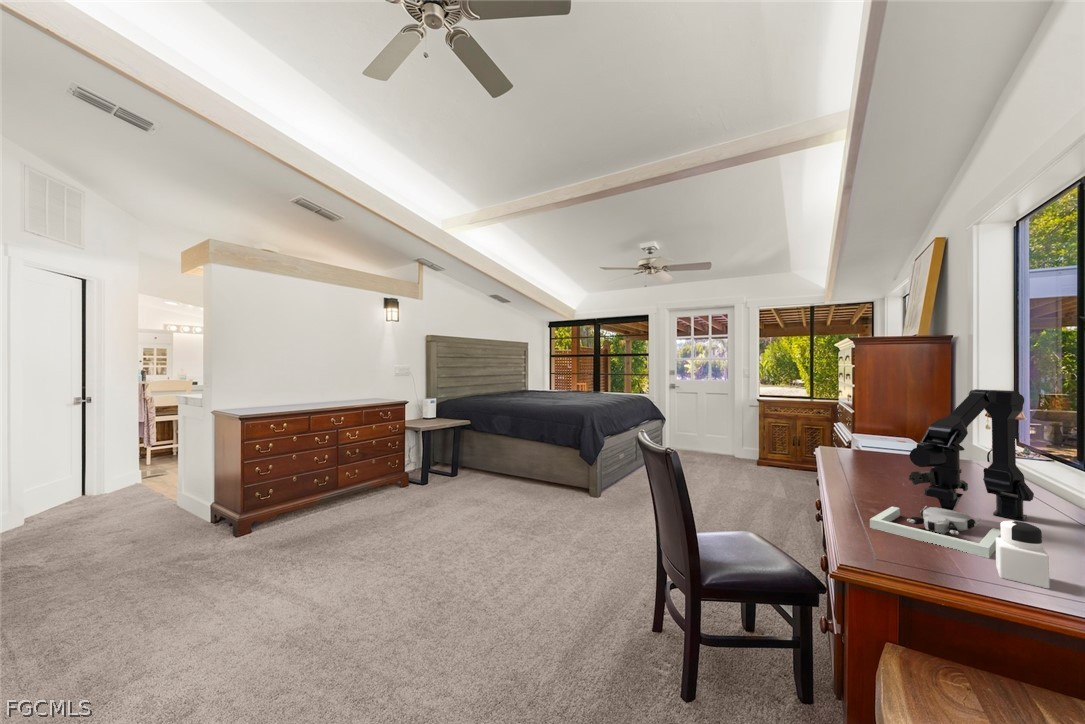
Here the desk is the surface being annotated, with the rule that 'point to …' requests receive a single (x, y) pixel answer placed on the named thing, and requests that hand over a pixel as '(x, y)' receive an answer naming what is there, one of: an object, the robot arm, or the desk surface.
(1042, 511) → the desk surface
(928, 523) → the robot toy
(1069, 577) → the desk surface
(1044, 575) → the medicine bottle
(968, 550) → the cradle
